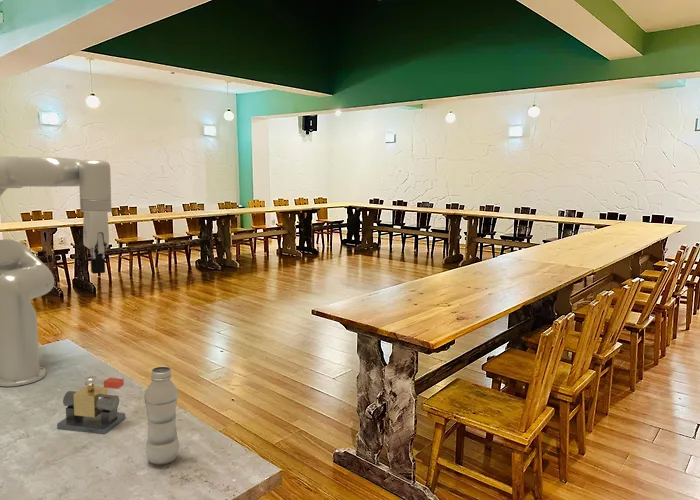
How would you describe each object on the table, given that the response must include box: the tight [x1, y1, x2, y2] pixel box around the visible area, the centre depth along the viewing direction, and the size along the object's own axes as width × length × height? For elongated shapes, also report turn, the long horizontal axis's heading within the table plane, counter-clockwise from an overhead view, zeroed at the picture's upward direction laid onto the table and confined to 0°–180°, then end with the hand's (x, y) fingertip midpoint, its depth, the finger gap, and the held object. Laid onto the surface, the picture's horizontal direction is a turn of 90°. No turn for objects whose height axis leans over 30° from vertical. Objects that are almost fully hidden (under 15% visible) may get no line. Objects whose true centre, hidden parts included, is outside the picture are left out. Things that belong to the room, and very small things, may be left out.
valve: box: [56, 384, 126, 435], centre depth 115 cm, size 12×8×10 cm, turn 82°
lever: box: [84, 375, 125, 390], centre depth 114 cm, size 9×2×2 cm, turn 81°
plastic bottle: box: [143, 366, 180, 466], centre depth 101 cm, size 6×7×20 cm
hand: (98, 272), depth 134 cm, fingers closed
